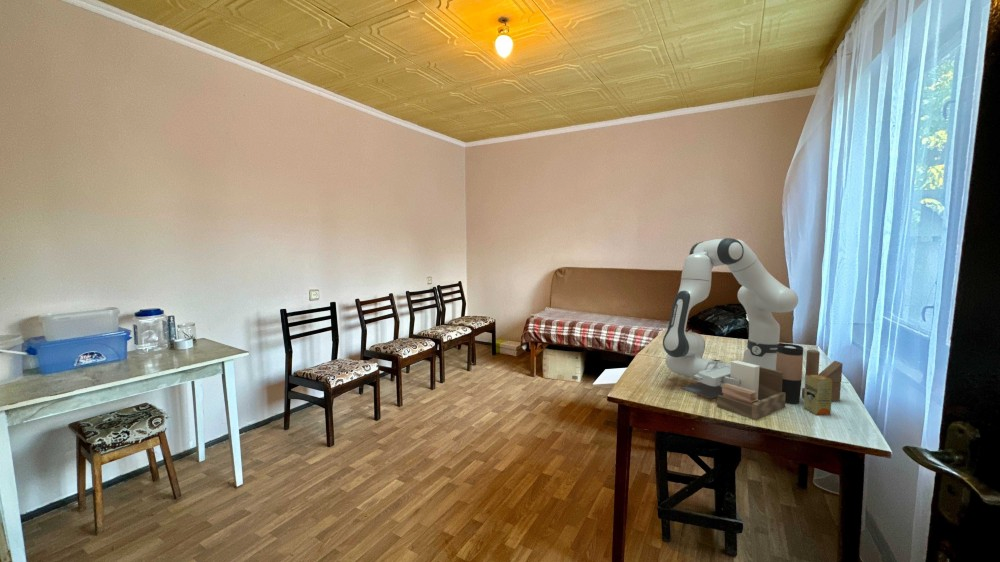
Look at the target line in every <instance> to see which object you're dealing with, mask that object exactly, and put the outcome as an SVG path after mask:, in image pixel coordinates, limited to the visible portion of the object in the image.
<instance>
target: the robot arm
mask: <svg viewBox="0 0 1000 562" xmlns="http://www.w3.org/2000/svg"><path fill="white" fill-rule="evenodd" d="M725 265H726V266H727V268H728V269H729V270H730V272H731V273H732V275H733V276H734V279H735V280H736V281H737V283H738V284H739V285H741V286H740V288H739V289H738V291H737V299H738V302H739V303H740V304H741V305H742V307H743V308H744V310H745V312H746V316H747V320H748V339H747V342H746V348H747V349H745V350H744V351H743V357H742V362H745V363H750V364H754V365H758V366H760V367H763V368H767V369H772V370H776V359H777V345H778V344H784V342H782V341H781V342H780V335H781V334H780V333H781V325H780V323H779V322H778V321H777V320H776V319H775V318H774V316H773V313H790V312H792V311H794V310H795V309H796V308H797V306H798V304H799V296H798V294H797V292H796V291H795V290H793V289H791V288H789V287H787V286H786V285H784V284H783V283H781V282H780V281H779V280H777V278H775V277H774V276H773V275H772V274H770V272H769V271H767V269H766V267H765V266H764V265H763V264H762V262H761V261H760V260H759V258H758V256H757V254H755V252H754V251H753V250H752V249H751V247H750V246H749V245H748V244H747V243H746V242H744V241H743V240H742V239H737V238H736V239H735V238H731V237H730V238H729V237H726V238H715V239H710V240H706V241H699V242H696V243H695V244H693V245H692V246H691V248H690V251H689V255H688V256H686V258H685V259H684V263H683V267H682V271H681V276H680V284H679V285H680V286H679V288H678V292H677V294H676V295H675V297H674V299H673V300H674V301H673V302H672V303H673V304H672V309H671V313H670V317H669V323H668V327H667V330H666V331H665V334H664V336H663V338H662V347H663V350H664V352H666V357H665V365H666V367H667V369H668V370H669V371H670V372H672V373H674V374H677V375H680V376H682V377H686V378H692V379H694V380H696V381H698V382H701V383H704V384H706V385H709V386H714V387H716V386H723V385H726V384H736V385H740V384H741V380H740V379H734V378H730V366H731V363H727V362H724V361H723V360H720V359H708V358H703V356H704V353H705V349H706V341H705V338H704V337H703V336H702V335H701V334H700V333H698V332H691V331H690V332H689V331H686V328H687V323H688V318H689V314H690V311H691V309H692V308H693V307H694V306H696V305H698V304H701V303H702V302H703V301H705V300H706V299H707V298H708V297H709V295H710V292H711V287H712V273H713V271H712V270H713V269H714V267H718V266H719V267H721V266H725Z"/></svg>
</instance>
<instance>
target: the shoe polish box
mask: <svg viewBox="0 0 1000 562" xmlns="http://www.w3.org/2000/svg"><path fill="white" fill-rule="evenodd" d="M832 384H833V380H832V379H830V378H827V377H825V376H822V375H806V380H805V379H804V388H805V395H804V398H803V410H804V409H805V411H806V410H807V411H806V412H808V411H809V412H808V413H810V414H813V416H827V415H826V414H830V415H831V412H832V411H831V409H832V401H831V399H832Z"/></svg>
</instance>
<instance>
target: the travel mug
mask: <svg viewBox="0 0 1000 562" xmlns="http://www.w3.org/2000/svg"><path fill="white" fill-rule="evenodd" d="M803 362H804V347H803V346H802V345H797V344H793V343H783V344H778V345H777V359H776V371H780V372H783V381H782V392H784V393H786V398H785V404H789V405H797V404H800V400H801V393H802V380H803V366H804V365H803Z"/></svg>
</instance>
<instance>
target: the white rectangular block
mask: <svg viewBox="0 0 1000 562" xmlns="http://www.w3.org/2000/svg"><path fill="white" fill-rule="evenodd" d="M730 364H731V366H730V378H734V379H740V380H741V384H740V385H736V384H731V385H735V386H738V387H741V388H745V389H748V390H752V391H755V392H756V399H757V400H758V388H759V369H760V366H758V365H754V364H750V363H745V362H743V361H741V360H732V361H730ZM758 401H759V400H758Z"/></svg>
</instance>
